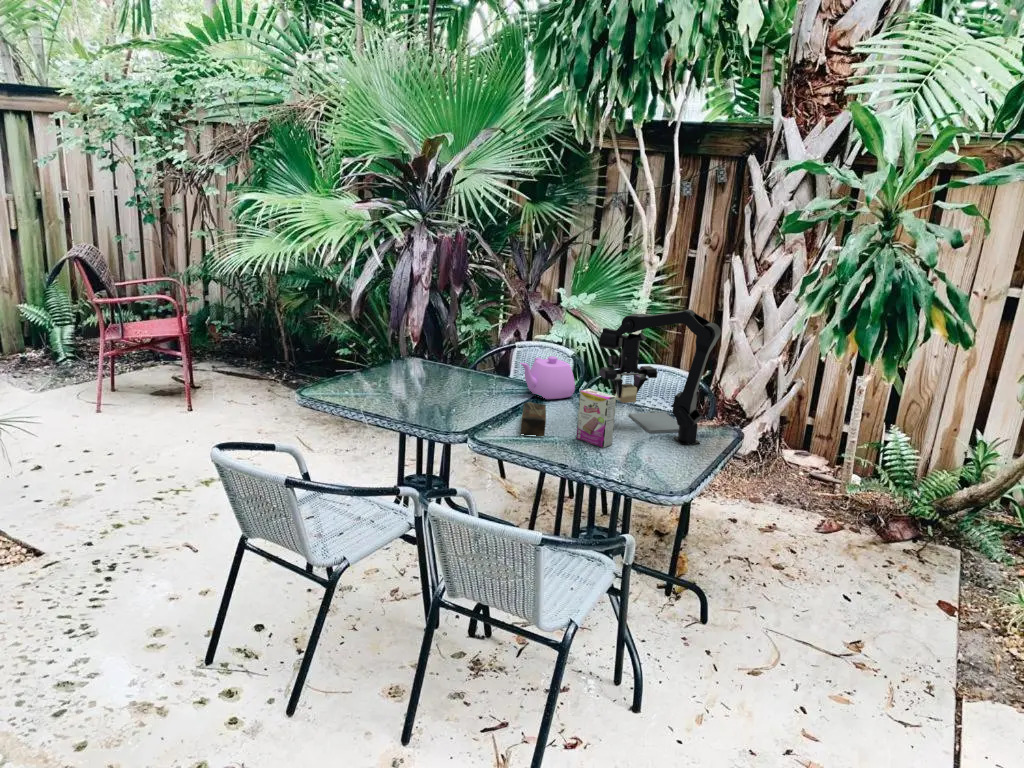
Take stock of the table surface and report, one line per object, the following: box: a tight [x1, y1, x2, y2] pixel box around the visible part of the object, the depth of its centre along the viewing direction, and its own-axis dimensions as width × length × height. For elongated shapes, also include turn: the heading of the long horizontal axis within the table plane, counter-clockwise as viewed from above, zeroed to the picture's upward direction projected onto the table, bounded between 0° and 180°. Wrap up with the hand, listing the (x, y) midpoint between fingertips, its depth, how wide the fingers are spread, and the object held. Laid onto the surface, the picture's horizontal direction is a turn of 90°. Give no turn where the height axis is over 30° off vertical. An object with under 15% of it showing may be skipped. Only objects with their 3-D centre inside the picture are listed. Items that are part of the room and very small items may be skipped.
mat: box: [628, 411, 679, 434], centre depth 263 cm, size 18×14×1 cm
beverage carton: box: [520, 401, 547, 436], centre depth 252 cm, size 8×19×7 cm, turn 177°
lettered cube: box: [615, 383, 638, 404], centre depth 254 cm, size 5×5×5 cm
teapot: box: [519, 355, 576, 400], centre depth 288 cm, size 23×21×15 cm
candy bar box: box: [575, 388, 617, 449], centre depth 239 cm, size 11×5×16 cm, turn 47°
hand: (626, 397), depth 254 cm, fingers closed on lettered cube, 5 cm apart
